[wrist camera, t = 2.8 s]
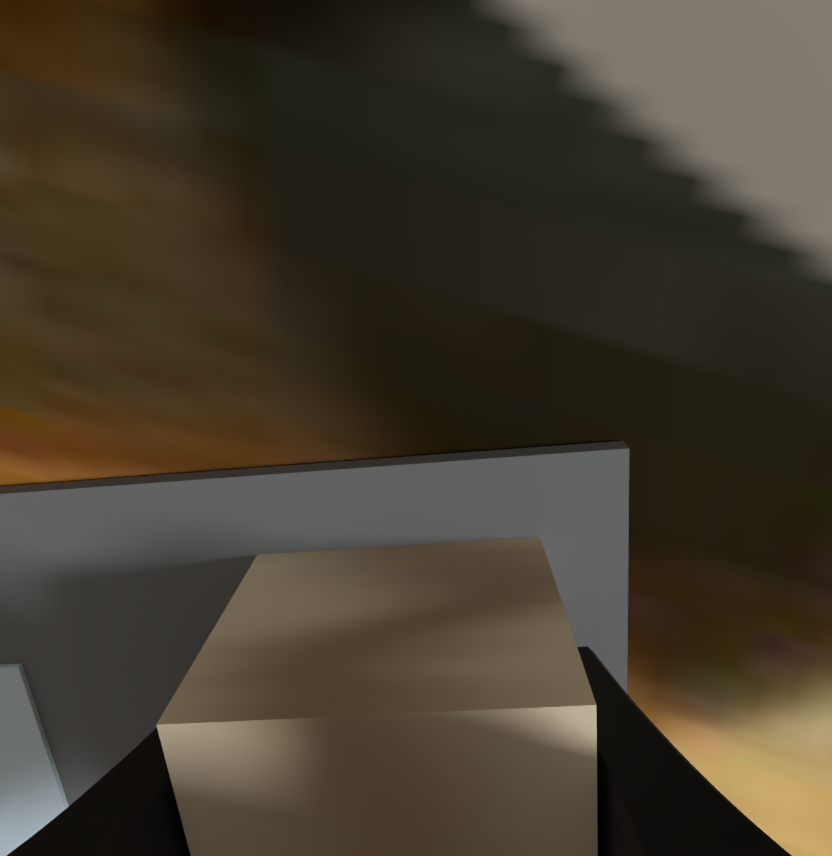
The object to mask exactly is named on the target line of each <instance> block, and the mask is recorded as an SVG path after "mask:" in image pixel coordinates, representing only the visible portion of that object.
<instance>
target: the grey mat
mask: <svg viewBox="0 0 832 856" xmlns="http://www.w3.org/2000/svg"><path fill="white" fill-rule="evenodd" d="M528 537H540V538H541V541H542V544H543V547H544V550H545V553H546V556H547V559H548V562H549V565H550V568H551V571H552V574H553V577H554V579H555V582H556V585H557V588H558V591H559V594H560V597H561V600H562V603H563V606H564V609H565V612H566V615H567V618H568V621H569V624H570V627H571V630H572V633H573V636H574V639H575V642H576V645H577V647H586V646H588V647H589V648H590V649H591V650H592V651H593V652H594V653H595V654H596V655H597V657H598V658H599V659H600V661H601V662H602V663H603V665H604V666H605V667H606V668H607V670H608V671H609V672H610V674H611V675H612V676H613V677H614V679H615V680H616V681H617V682H618V683H619V685H620V686H621V687H622V688H623V690H624V691H625V692H626V693H627V650H628V537H629V448H628V446H627V445H626V444H625V443H624V442H623V441H613V442H599V443H586V444H572V445H559V446H545V447H531V448H518V449H504V450H491V451H477V452H463V453H450V454H436V455H422V456H409V457H395V458H382V459H368V460H354V461H341V462H327V463H314V464H300V465H286V466H273V467H259V468H246V469H232V470H218V471H205V472H191V473H177V474H164V475H150V476H137V477H123V478H109V479H96V480H82V481H69V482H55V483H41V484H28V485H14V486H1V487H0V856H7V855H8V854H9V853H11V852H12V851H13V850H15V849H16V848H17V847H18V846H20V845H21V844H22V843H24V842H25V841H26V840H28V839H29V838H30V837H32V836H33V835H34V834H35V833H37V832H38V831H39V830H40V829H42V828H43V827H44V826H45V825H47V824H48V823H49V822H50V821H52V820H53V819H54V818H55V817H57V816H58V815H59V814H60V813H61V812H63V811H64V810H65V809H66V808H68V807H69V806H70V805H71V804H72V803H73V802H75V801H76V800H77V799H78V798H79V797H80V796H81V795H82V794H84V793H85V792H86V791H87V790H88V789H89V788H90V787H92V786H93V785H94V784H95V783H96V782H97V781H98V780H100V779H101V778H102V777H103V776H104V775H105V774H106V773H108V772H109V771H110V770H111V769H112V768H113V767H114V766H116V765H117V764H118V763H119V762H120V761H121V760H122V759H124V758H125V757H126V756H127V755H128V754H129V753H130V752H131V751H132V750H133V749H134V748H136V747H137V746H138V745H139V744H140V743H141V742H142V741H143V740H144V739H145V738H146V737H147V736H148V735H149V734H150V733H151V732H152V731H154V730H155V729H156V728H157V726H156V724H157V723H158V721H159V719H160V718H161V716H162V714H163V713H164V711H165V709H166V708H167V706H168V704H169V702H170V701H171V699H172V697H173V696H174V694H175V692H176V691H177V689H178V687H179V686H180V684H181V682H182V681H183V679H184V677H185V676H186V674H187V672H188V671H189V669H190V667H191V666H192V664H193V662H194V660H195V659H196V657H197V655H198V654H199V652H200V650H201V649H202V647H203V645H204V644H205V642H206V640H207V639H208V637H209V635H210V634H211V632H212V630H213V629H214V627H215V625H216V624H217V622H218V620H219V619H220V617H221V615H222V613H223V612H224V610H225V608H226V607H227V605H228V603H229V602H230V600H231V598H232V597H233V595H234V593H235V592H236V590H237V588H238V587H239V585H240V583H241V582H242V580H243V578H244V577H245V575H246V573H247V571H248V570H249V568H250V566H251V565H252V563H253V561H254V560H255V558H256V556H257V555H261V554H277V553H293V552H309V551H324V550H340V549H356V548H371V547H387V546H403V545H418V544H434V543H450V542H465V541H481V540H497V539H513V538H528Z"/></svg>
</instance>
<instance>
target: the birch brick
mask: <svg viewBox="0 0 832 856" xmlns="http://www.w3.org/2000/svg"><path fill="white" fill-rule="evenodd" d="M156 726H157V730H158V733H159V737H160V741H161V745H162V749H163V752H164V756H165V760H166V764H167V768H168V771H169V775H170V779H171V783H172V787H173V790H174V794H175V798H176V802H177V806H178V809H179V813H180V817H181V821H182V825H183V828H184V832H185V836H186V840H187V844H188V847H189V851H190V855H191V856H598V827H597V711H596V702H595V699H594V696H593V693H592V690H591V687H590V684H589V681H588V678H587V675H586V672H585V669H584V666H583V663H582V660H581V657H580V654H579V651H578V648H577V645H576V642H575V639H574V636H573V633H572V630H571V627H570V624H569V621H568V618H567V615H566V612H565V609H564V606H563V603H562V600H561V597H560V594H559V591H558V588H557V585H556V582H555V579H554V577H553V574H552V571H551V568H550V565H549V562H548V559H547V556H546V553H545V550H544V547H543V544H542V541H541V538H540V537H528V538H513V539H497V540H481V541H465V542H450V543H434V544H418V545H403V546H387V547H371V548H356V549H340V550H324V551H309V552H293V553H277V554H261V555H257V556H256V558H255V560H254V561H253V563H252V565H251V566H250V568H249V570H248V571H247V573H246V575H245V577H244V578H243V580H242V582H241V583H240V585H239V587H238V588H237V590H236V592H235V593H234V595H233V597H232V598H231V600H230V602H229V603H228V605H227V607H226V608H225V610H224V612H223V613H222V615H221V617H220V619H219V620H218V622H217V624H216V625H215V627H214V629H213V630H212V632H211V634H210V635H209V637H208V639H207V640H206V642H205V644H204V645H203V647H202V649H201V650H200V652H199V654H198V655H197V657H196V659H195V660H194V662H193V664H192V666H191V667H190V669H189V671H188V672H187V674H186V676H185V677H184V679H183V681H182V682H181V684H180V686H179V687H178V689H177V691H176V692H175V694H174V696H173V697H172V699H171V701H170V702H169V704H168V706H167V708H166V709H165V711H164V713H163V714H162V716H161V718H160V719H159V721H158V723H157V724H156Z"/></svg>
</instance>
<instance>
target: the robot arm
mask: <svg viewBox="0 0 832 856" xmlns="http://www.w3.org/2000/svg"><path fill="white" fill-rule="evenodd" d="M577 648H578V651H579V654H580V657H581V660H582V663H583V666H584V669H585V672H586V675H587V678H588V681H589V684H590V687H591V690H592V693H593V696H594V699H595V702H596V711H597V827H598V856H791V855H790V854H789V853H788V852H786V851H785V850H784V849H783V848H782V847H780V846H779V845H778V844H777V843H776V842H775V841H774V840H772V839H771V838H770V837H769V836H768V835H767V834H765V833H764V832H763V831H762V830H761V829H760V828H758V827H757V826H756V825H755V824H754V823H753V822H752V821H750V820H749V819H748V818H747V817H746V816H745V815H744V814H743V813H742V812H741V811H739V810H738V809H737V808H736V807H735V806H734V805H733V804H732V803H731V802H730V801H729V800H728V799H726V798H725V797H724V796H723V795H722V794H721V793H720V792H719V791H718V790H717V789H716V788H715V787H714V786H713V785H712V784H711V783H710V782H709V781H708V780H707V779H706V778H705V777H704V776H703V775H702V774H701V773H700V772H699V771H698V770H697V769H696V768H695V767H694V766H693V765H692V764H691V763H690V762H689V761H688V760H687V759H686V758H685V757H684V756H683V755H682V754H681V753H680V752H679V751H678V750H677V749H676V748H675V747H674V746H673V745H672V744H671V743H670V741H669V740H668V739H667V738H666V737H665V736H664V735H663V734H662V733H661V732H660V731H659V729H658V728H657V727H656V726H655V725H654V724H653V723H652V722H651V721H650V720H649V719H648V718H647V716H646V715H645V714H644V713H643V712H642V711H641V710H640V708H639V707H638V706H637V705H636V704H635V703H634V701H633V700H632V699H631V698H630V697H629V695H628V694H627V693H626V692H625V691H624V690H623V688H622V687H621V686H620V685H619V683H618V682H617V681H616V680H615V679H614V677H613V676H612V675H611V674H610V672H609V671H608V670H607V668H606V667H605V666H604V665H603V663H602V662H601V661H600V659H599V658H598V657H597V655H596V654H595V653H594V652H593V651H592V650H591V649H590V648H589V647H588V646H586V647H577ZM7 856H191V855H190V851H189V847H188V844H187V840H186V836H185V832H184V828H183V825H182V821H181V817H180V813H179V809H178V806H177V802H176V798H175V794H174V790H173V787H172V783H171V779H170V775H169V771H168V768H167V764H166V760H165V756H164V752H163V749H162V745H161V741H160V737H159V733H158V730H157V728H156V729H155V730H154V731H152V732H151V733H150V734H149V735H148V736H147V737H146V738H145V739H144V740H143V741H142V742H141V743H140V744H139V745H138V746H137V747H136V748H134V749H133V750H132V751H131V752H130V753H129V754H128V755H127V756H126V757H125V758H124V759H122V760H121V761H120V762H119V763H118V764H117V765H116V766H114V767H113V768H112V769H111V770H110V771H109V772H108V773H106V774H105V775H104V776H103V777H102V778H101V779H100V780H98V781H97V782H96V783H95V784H94V785H93V786H92V787H90V788H89V789H88V790H87V791H86V792H85V793H84V794H82V795H81V796H80V797H79V798H78V799H77V800H76V801H75V802H73V803H72V804H71V805H70V806H69V807H68V808H66V809H65V810H64V811H63V812H61V813H60V814H59V815H58V816H57V817H55V818H54V819H53V820H52V821H50V822H49V823H48V824H47V825H45V826H44V827H43V828H42V829H40V830H39V831H38V832H37V833H35V834H34V835H33V836H32V837H30V838H29V839H28V840H26V841H25V842H24V843H22V844H21V845H20V846H18V847H17V848H16V849H15V850H13V851H12V852H11V853H9V854H8V855H7Z"/></svg>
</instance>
